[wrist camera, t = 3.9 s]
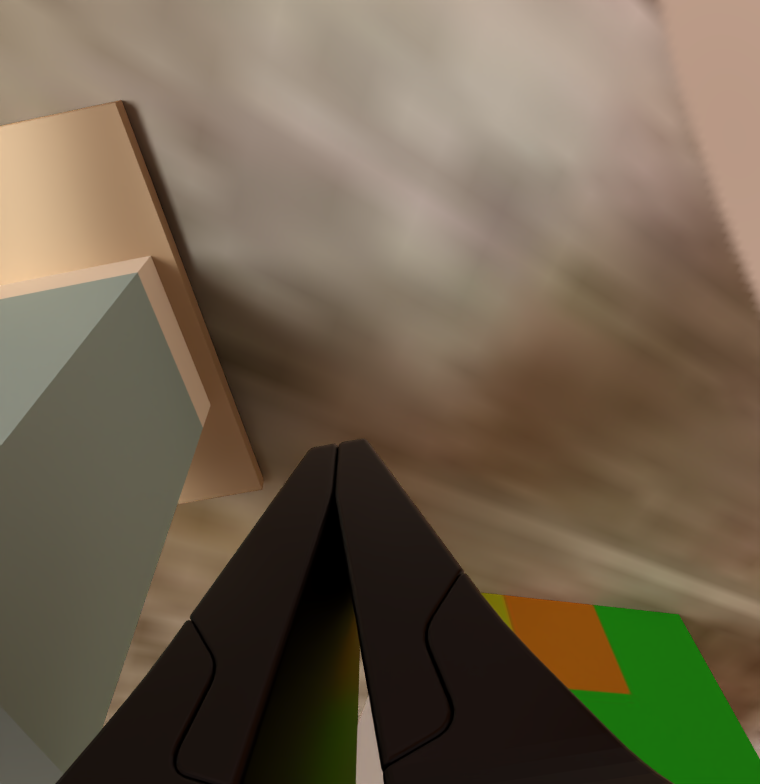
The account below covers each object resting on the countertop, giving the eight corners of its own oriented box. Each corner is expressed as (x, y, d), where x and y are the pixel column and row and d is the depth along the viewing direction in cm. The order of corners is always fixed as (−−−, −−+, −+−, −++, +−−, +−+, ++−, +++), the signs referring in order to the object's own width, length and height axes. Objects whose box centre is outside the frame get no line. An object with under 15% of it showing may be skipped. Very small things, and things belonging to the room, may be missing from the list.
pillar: (210, 404, 15) (80, 792, 8) (60, 432, 16) (-212, 836, 8) (150, 255, 13) (-111, 587, 6) (-23, 289, 13) (-504, 654, 6)
